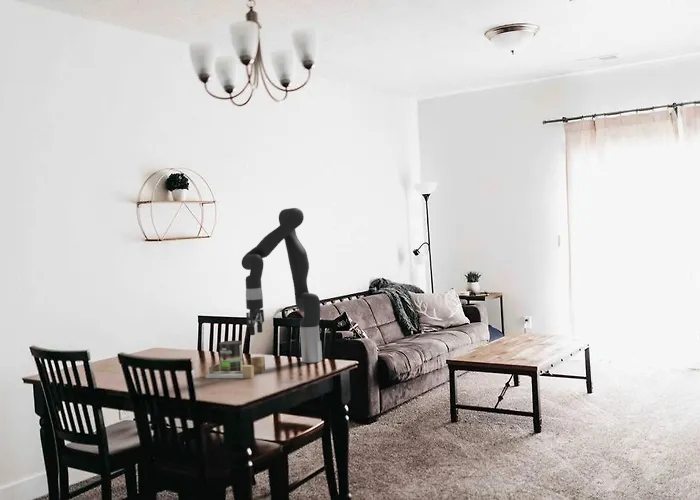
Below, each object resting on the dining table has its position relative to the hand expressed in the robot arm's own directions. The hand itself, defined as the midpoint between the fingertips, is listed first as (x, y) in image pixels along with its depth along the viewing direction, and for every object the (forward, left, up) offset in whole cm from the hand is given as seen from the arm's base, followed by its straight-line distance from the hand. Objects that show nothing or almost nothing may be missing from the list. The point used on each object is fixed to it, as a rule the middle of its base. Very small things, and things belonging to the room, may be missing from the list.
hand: (256, 333), depth 303 cm
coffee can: (+13, 0, -18) cm, 22 cm away
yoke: (+9, 0, -18) cm, 20 cm away
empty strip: (+10, +10, -18) cm, 22 cm away
